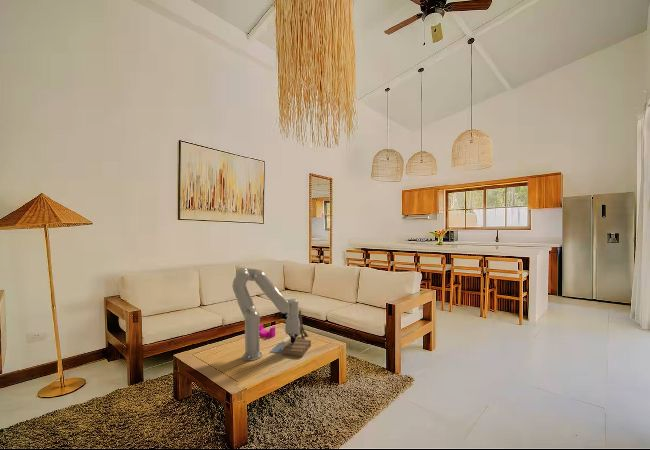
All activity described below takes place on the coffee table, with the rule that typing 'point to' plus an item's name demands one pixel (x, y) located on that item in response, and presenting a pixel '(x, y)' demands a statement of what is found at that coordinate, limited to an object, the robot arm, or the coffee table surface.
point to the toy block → (266, 332)
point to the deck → (297, 348)
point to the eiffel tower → (301, 327)
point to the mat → (277, 349)
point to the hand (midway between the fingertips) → (293, 342)
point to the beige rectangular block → (285, 342)
